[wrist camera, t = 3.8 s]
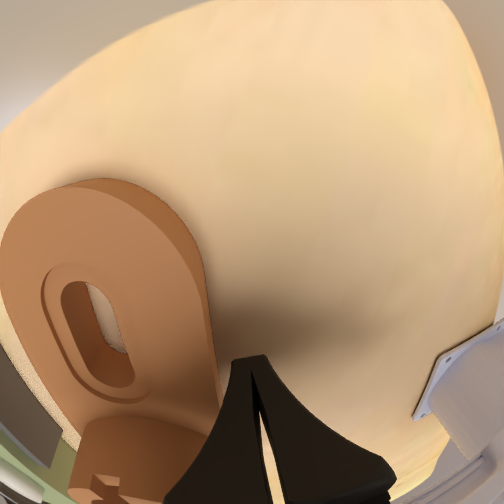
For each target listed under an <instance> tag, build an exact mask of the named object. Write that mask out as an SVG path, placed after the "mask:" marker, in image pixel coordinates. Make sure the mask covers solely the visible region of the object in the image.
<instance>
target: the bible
mask: <svg viewBox="0 0 504 504" xmlns="http://www.w3.org/2000/svg"><path fill="white" fill-rule="evenodd" d="M0 504H50V503H48V502H45V501H43V500H42V502H41V503H37V502H35V501H32V500H30V499H28V498H26V497H25V496H23V495H21V494H19V493H18V492H16V491H14V490H13V489H11V488H10V487H8V486H7V485H5V484H4V483H2V482H1V481H0Z"/></svg>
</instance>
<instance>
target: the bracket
mask: <svg viewBox="0 0 504 504" xmlns="http://www.w3.org/2000/svg"><path fill="white" fill-rule="evenodd" d="M85 282H87V283H89V284H92V285H94V286H95V287H97V288H98V289H99V290H100V291H102V292H103V294H104V295H105V296H106V297H107V298H108V300H109V302H110V303H111V306H112V308H113V311H114V315H115V318H116V321H117V324H118V327H119V330H120V333H121V336H122V339H123V342H124V345H125V348H126V351H127V353H128V354H124V353H121V352H118V351H116V350H114V349H113V348H112V347H110V346H109V345H108V344H107V342H106V341H105V340H104V338H103V335H102V333H101V330H100V327H99V324H98V321H97V318H96V315H95V312H94V309H93V306H92V303H91V300H90V297H89V293H88V290H87V286H86V283H85ZM0 290H1V294H2V298H3V302H4V305H5V308H6V310H7V313H8V315H9V318H10V320H11V322H12V325H13V327H14V329H15V331H16V334H17V336H18V338H19V340H20V342H21V344H22V346H23V348H24V350H25V352H26V354H27V356H28V358H29V360H30V362H31V363H32V365H33V367H34V369H35V370H36V372H37V374H38V376H39V377H40V379H41V381H42V382H43V384H44V386H45V387H46V389H47V390H48V392H49V393H50V395H51V396H52V398H53V399H54V401H55V402H56V404H57V405H58V407H59V408H60V410H61V411H62V412H63V414H64V415H65V417H66V418H67V419H68V421H69V422H70V423H71V425H72V426H73V427H74V428H75V430H76V431H77V432H78V433H79V435H80V436H81V437H82V438H81V441H80V445H79V448H78V451H77V455H76V458H75V462H74V466H73V470H72V473H71V477H70V482H69V486H68V490H67V492H68V494H69V496H70V497H71V498H72V499H74V500H75V501H76V502H78V503H79V504H162V503H163V500H164V497H165V495H166V494H167V493H168V492H169V491H170V490H171V489H172V488H173V486H174V485H175V484H176V483H177V482H178V481H179V480H180V479H181V477H182V476H183V475H184V474H185V472H186V471H187V469H188V468H189V467H190V465H191V464H192V463H193V461H194V460H195V458H196V457H197V455H198V454H199V452H200V450H201V449H202V447H203V445H204V443H205V442H206V440H207V438H208V436H209V434H210V432H211V430H212V428H213V426H214V424H215V421H216V419H217V417H218V414H219V411H220V409H221V406H222V403H223V398H222V392H221V386H220V380H219V374H218V368H217V362H216V355H215V349H214V342H213V335H212V328H211V321H210V314H209V306H208V298H207V290H206V281H205V273H204V267H203V263H202V259H201V256H200V252H199V250H198V247H197V245H196V243H195V241H194V239H193V237H192V235H191V233H190V231H189V230H188V228H187V227H186V225H185V224H184V222H183V221H182V220H181V219H180V218H179V216H178V215H177V214H176V213H175V212H174V211H173V210H172V209H171V208H170V207H169V206H168V205H167V204H166V203H165V202H163V201H162V200H161V199H160V198H158V197H157V196H156V195H154V194H152V193H151V192H149V191H148V190H146V189H144V188H141V187H139V186H137V185H135V184H132V183H129V182H126V181H121V180H116V179H106V178H101V179H91V180H86V181H81V182H77V183H74V184H70V185H66V186H62V187H59V188H55V189H52V190H49V191H46V192H43V193H41V194H39V195H37V196H35V197H34V198H32V199H30V200H29V201H28V202H26V203H25V204H24V205H23V206H22V207H21V208H20V209H19V210H18V211H17V212H16V213H15V215H14V216H13V218H12V219H11V221H10V222H9V224H8V226H7V228H6V230H5V233H4V236H3V239H2V242H1V246H0Z"/></svg>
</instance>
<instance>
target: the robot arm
mask: <svg viewBox="0 0 504 504" xmlns="http://www.w3.org/2000/svg"><path fill="white" fill-rule="evenodd" d="M259 411H260V414H261V418H262V421H263V424H264V427H265V430H266V433H267V436H268V439H269V442H270V445H271V448H272V451H273V455H274V458H275V462H276V467H277V471H278V475H279V480H280V484H281V488H282V493H283V497H284V501H285V504H390V502H389V500H390V499H391V497H390V495H389V493H388V490H389V489H390V488H391V487H392V486H393V484H394V483H395V482H396V480H397V477H396V475H395V473H394V471H393V470H392V468H391V467H390V466H389V464H388V463H387V462H386V461H385V460H384V459H383V458H382V457H381V456H379V455H377V454H374V453H372V452H370V451H368V450H366V449H364V448H362V447H360V446H358V445H356V444H354V443H352V442H351V441H349V440H347V439H346V438H344V437H343V436H341V435H340V434H338V433H337V432H335V431H334V430H332V429H331V428H329V427H328V426H326V425H325V424H324V423H323V422H321V421H320V420H319V419H318V418H316V417H315V416H314V415H313V414H312V413H311V412H310V411H308V410H307V409H306V408H305V407H304V406H303V405H302V404H301V403H300V402H299V401H298V400H297V398H296V397H295V396H294V395H293V394H292V393H291V392H290V391H289V389H288V388H287V387H286V386H285V384H284V383H283V382H282V381H281V379H280V378H279V377H278V375H277V374H276V372H275V371H274V369H273V368H272V366H271V364H270V362H269V360H268V358H267V356H266V355H264V354H263V355H258V356H252V357H247V358H241V359H234V360H233V361H232V362H231V372H230V378H229V382H228V387H227V390H226V393H225V397H224V400H223V403H222V406H221V409H220V411H219V414H218V417H217V419H216V421H215V424H214V426H213V428H212V430H211V432H210V434H209V436H208V438H207V440H206V442H205V443H204V445H203V447H202V449H201V450H200V452H199V454H198V455H197V457H196V458H195V460H194V461H193V463H192V464H191V465H190V467H189V468H188V469H187V471H186V472H185V474H184V475H183V476H182V477H181V479H180V480H179V481H178V482H177V483H176V484H175V485H174V486H173V488H172V489H171V490H170V491H169V492H168V493H167V494H166V495H165V497H164V500H163V503H162V504H273V500H272V495H271V491H270V486H269V482H268V477H267V472H266V467H265V463H264V456H263V448H262V437H261V426H260V415H259ZM432 412H433V413H434V414H435V416H436V417H437V418H438V420H439V421H440V423H441V424H442V426H443V427H444V428H445V430H446V431H447V433H448V434H449V435H450V437H451V438H452V440H453V441H454V443H455V444H456V446H457V447H458V449H459V450H460V451H461V453H462V454H463V456H464V457H465V459H466V460H467V462H466V463H465V464H464V465H462V466H461V467H460V468H458V469H457V470H455V471H454V472H452V473H451V474H450V475H448V476H447V477H445V478H444V479H442V480H440V481H439V482H437V483H436V484H434V485H433V486H431V487H429V488H427V489H426V490H424V491H422V492H420V493H419V494H417V495H415V496H413V497H411V498H410V499H408V500H406V501H404V502H402V503H400V504H504V318H503V319H501V320H500V321H499V322H497V323H496V324H494V325H493V326H491V327H489V328H488V329H486V330H485V331H483V332H482V333H480V334H478V335H477V336H475V337H473V338H472V339H470V340H468V341H467V342H465V343H463V344H461V345H460V346H458V347H456V348H454V349H452V350H450V351H449V352H447V353H445V354H443V355H441V356H440V357H439V358H438V360H437V362H436V364H435V367H434V370H433V372H432V375H431V377H430V380H429V382H428V385H427V387H426V389H425V391H424V394H423V396H422V398H421V400H420V403H419V405H418V407H417V409H416V411H415V413H414V415H413V417H412V419H413V420H414V421H417V420H419V419H421V418H423V417H425V416H426V415H428V414H430V413H432Z"/></svg>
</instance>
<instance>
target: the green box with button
mask: <svg viewBox="0 0 504 504" xmlns="http://www.w3.org/2000/svg"><path fill="white" fill-rule="evenodd" d="M62 432H63V430H62V429H61V428H60V427H59V426H58V425H57V423H56V422H55V421H54V420H53V419H52V418H51V416H50V415H49V414H48V413H47V412H46V410H45V409H44V408H43V407H42V405H41V404H40V403H39V402H38V400H37V399H36V398H35V396H34V395H33V394H32V392H31V391H30V390H29V388H28V387H27V386H26V384H25V383H24V381H23V380H22V378H21V377H20V375H19V374H18V372H17V371H16V369H15V368H14V366H13V365H12V363H11V361H10V360H9V358H8V356H7V355H6V353H5V351H4V350H3V348H2V346H1V344H0V481H1V482H2V483H4V484H5V485H7V486H8V487H10V488H11V489H13V490H14V491H16V492H18V493H19V494H21V495H23V496H25V497H26V498H28V499H30V500H32V501H35V502H37V503H41V502H42V500H43V501H45V502H48V503H50V504H79V503H78V502H76V501H75V500H74V499H72V498H71V497H70V496H69V494H68V492H67V490H68V486H69V482H70V477H71V473H72V470H73V466H74V462H75V458H76V455H77V453H76V452H75V451H74V450H73V449H72V448H71V447H70V446H69V445H68V444H67V443H66V442H65V441H64V440H63V439H62V438H61V435H62Z"/></svg>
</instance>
